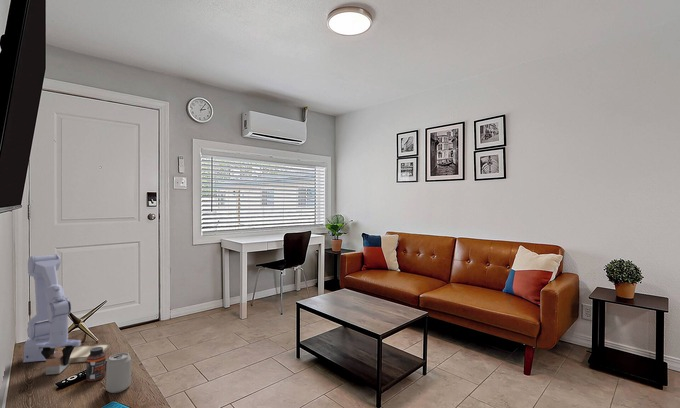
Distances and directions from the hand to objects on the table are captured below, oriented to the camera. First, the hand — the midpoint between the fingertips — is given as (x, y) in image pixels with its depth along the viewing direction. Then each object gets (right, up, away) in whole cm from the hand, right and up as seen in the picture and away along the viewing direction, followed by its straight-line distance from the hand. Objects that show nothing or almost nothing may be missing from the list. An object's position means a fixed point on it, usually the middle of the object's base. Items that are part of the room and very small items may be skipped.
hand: (58, 365), depth 136 cm
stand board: (+1, -2, +14) cm, 14 cm away
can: (+32, -3, -12) cm, 34 cm away
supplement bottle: (+19, -3, -5) cm, 20 cm away
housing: (0, -2, 0) cm, 2 cm away
